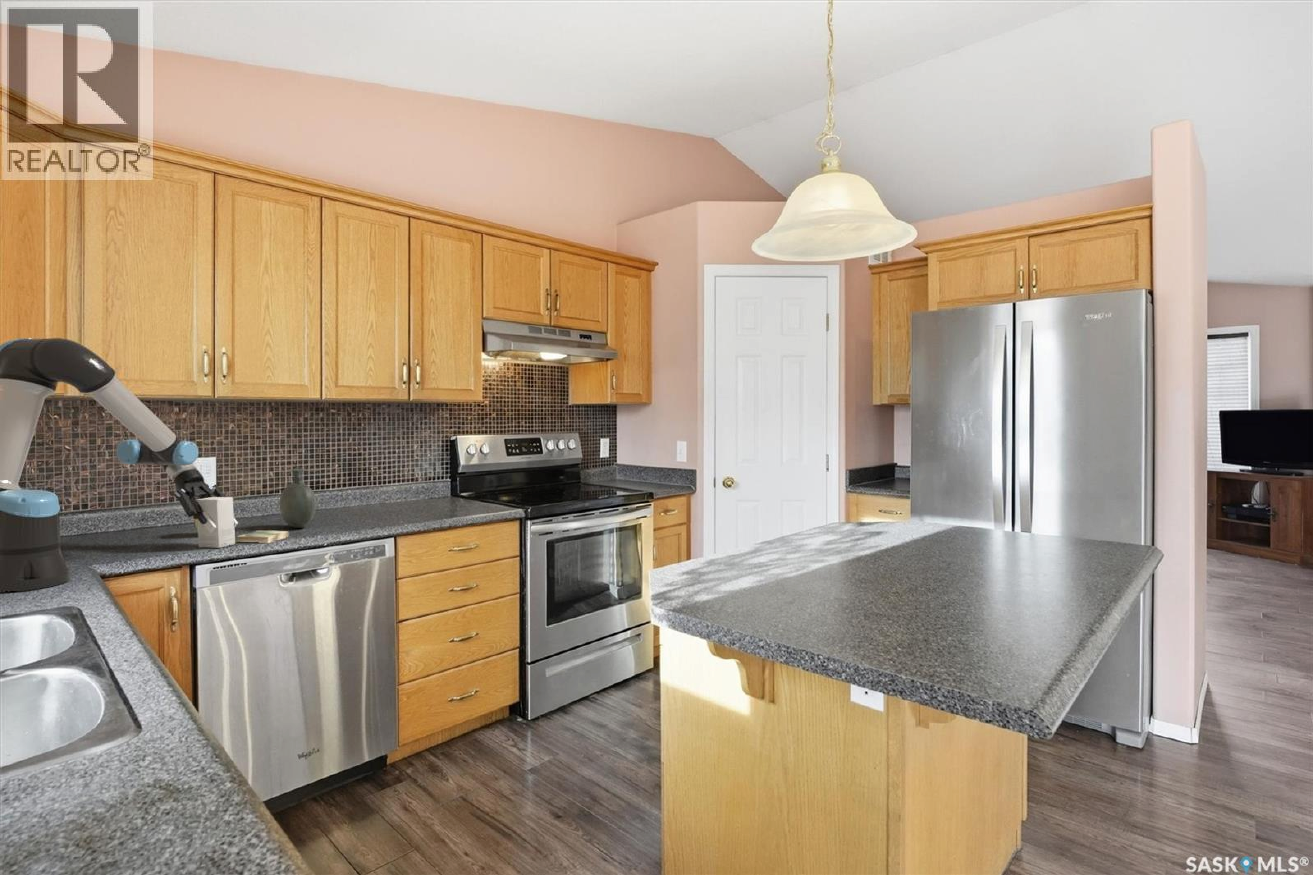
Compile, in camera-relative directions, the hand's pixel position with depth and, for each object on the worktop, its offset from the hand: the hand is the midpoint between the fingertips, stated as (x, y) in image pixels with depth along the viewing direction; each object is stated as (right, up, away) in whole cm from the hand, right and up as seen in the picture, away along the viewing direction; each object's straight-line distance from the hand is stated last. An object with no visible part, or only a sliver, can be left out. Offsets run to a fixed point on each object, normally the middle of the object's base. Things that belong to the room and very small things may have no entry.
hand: (224, 528), depth 209 cm
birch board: (+5, -6, +12) cm, 14 cm away
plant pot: (-18, -5, +20) cm, 28 cm away
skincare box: (-3, -6, +1) cm, 7 cm away
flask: (+5, -5, +35) cm, 35 cm away
